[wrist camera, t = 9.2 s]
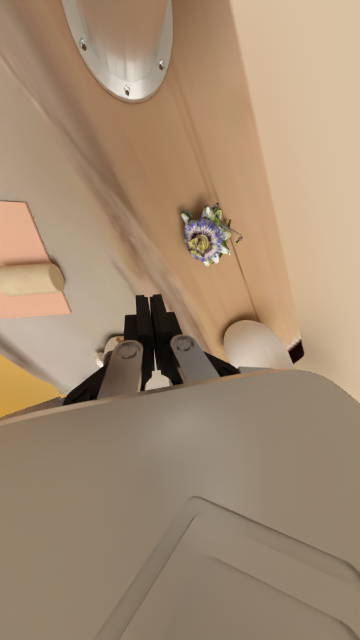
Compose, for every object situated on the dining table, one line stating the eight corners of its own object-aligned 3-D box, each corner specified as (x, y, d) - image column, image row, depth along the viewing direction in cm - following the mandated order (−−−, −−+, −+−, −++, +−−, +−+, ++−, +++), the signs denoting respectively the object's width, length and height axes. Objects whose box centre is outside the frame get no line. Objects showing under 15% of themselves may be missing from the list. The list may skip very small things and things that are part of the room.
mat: (-94, 195, 23) (-99, 195, 23) (26, 202, 27) (24, 202, 26) (-3, 317, 36) (-4, 318, 36) (71, 312, 40) (70, 313, 39)
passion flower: (182, 235, 40) (166, 217, 29) (221, 206, 37) (221, 172, 26) (203, 274, 41) (196, 272, 30) (244, 250, 38) (253, 236, 26)
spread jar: (143, 337, 50) (145, 367, 41) (133, 360, 55) (133, 392, 46) (101, 329, 45) (93, 362, 36) (94, 356, 50) (86, 391, 41)
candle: (49, 256, 30) (-15, 260, 28) (47, 281, 28) (-22, 287, 26) (65, 274, 35) (11, 278, 33) (64, 296, 33) (7, 302, 31)
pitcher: (214, 322, 54) (270, 405, 32) (260, 305, 54) (346, 376, 32) (220, 363, 69) (261, 438, 47) (257, 349, 69) (314, 417, 47)
